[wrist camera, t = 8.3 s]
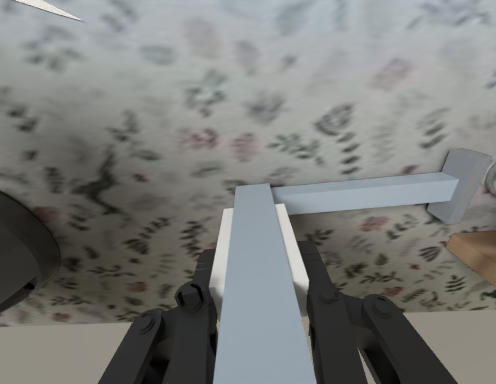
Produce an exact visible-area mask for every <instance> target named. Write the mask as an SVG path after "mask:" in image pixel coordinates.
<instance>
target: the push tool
mask: <svg viewBox="0 0 496 384" xmlns="http://www.w3.org/2000/svg"><path fill="white" fill-rule="evenodd" d="M492 157H493V156H490V155H486V154H482V153H479V152H475V151H471V150H467V149H464V148H460V149H450V151H449V154H448V157H447V159H446V162H445V164H444V167H443V169H442V172H436V173H426V174H415V175H404V176H394V177H383V178H372V179H361V180H351V181H340V182H329V183H319V184H308V185H297V186H286V187H276V188H270V184H269V183H265V184H255V185H244V186H236V190H235V199H234V208H233V216H232V225H231V233H230V242H229V251H228V259H227V268H226V276H225V285H224V294H223V302H222V311H221V319H220V328H219V337H218V345H217V354H216V362H215V371H214V380H213V384H317V382H316V378H315V374H314V369H313V365H312V361H311V357H310V353H309V348H308V345H307V340H306V336H305V332H304V327H303V323H302V319H301V315H300V310H299V306H298V302H297V298H296V294H295V289H294V285H293V281H292V277H291V273H290V268H289V264H288V260H287V256H286V252H285V247H284V243H283V239H282V235H281V230H280V226H279V222H278V218H277V214H276V209H275V205H274V204H284V205H285V208H286V211H287V214H288V215H295V214H306V213H318V212H329V211H341V210H352V209H364V208H375V207H387V206H398V205H410V204H421V203H429V206H428V208H427V211H428V212H430V213H431V214H433V215H434V216H436V217H437V218H439V219H440V220H442V221H443V222H445V223H446V224H458V223H460V221H461V219H462V217H463V215H464V213H465V211H466V209H467V207H468V205H469V203H470V201H471V199H472V197H473V195H474V193H475V191H476V189H477V187H478V185H479V183H480V181H481V179H482V177H483V175H484V173H485V171H486V169H487V167H488V165H489V163H490V161H491V159H492Z"/></svg>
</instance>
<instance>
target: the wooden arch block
mask: <svg viewBox="0 0 496 384" xmlns="http://www.w3.org/2000/svg"><path fill="white" fill-rule="evenodd" d="M446 248H447V249H448V250H449V251H450V252H452V253H453V254H454V255H456V256H457V257H458V258H459V259H461V260H462V261H463V262H464V263H466V264H467V265H468V266H469V267H471V268H472V269H473V270H474V271H476V272H477V273H478V274H479V275H481V276H482V277H483V278H485V279H486V280H487V281H488V282H490V283H491V284H492V285H493V286H495V287H496V230H494V231H482V232H470V233H458V234H452V236H451V238H450V240H449V242H448V244H447V246H446Z"/></svg>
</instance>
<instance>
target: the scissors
mask: <svg viewBox="0 0 496 384" xmlns="http://www.w3.org/2000/svg"><path fill="white" fill-rule="evenodd" d="M15 1H19V2H22V3H25V4H28V5H31V6H34V7H37V8H40V9H43V10H46V11H49V12H52V13H55V14H59V15H63V16H66V17H70V18H74V19H77V20H80V19H78V18H76V17H74V16H72V15H70V14H68V13H66V12H64V11H62V10H60V9H58V8H56V7H54V6H52V5H50V4H48V3H46V2H44V1H42V0H15ZM81 21H82V20H81Z"/></svg>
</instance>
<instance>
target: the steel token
mask: <svg viewBox="0 0 496 384" xmlns="http://www.w3.org/2000/svg"><path fill="white" fill-rule="evenodd" d="M485 187H486V189H487V190H488V191H489V192H490V193H492V194H494V195H496V163H495V164H494V165H493V166H492V167H491V169H490V170H489V172H488V173H487V176H486V179H485Z"/></svg>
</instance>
